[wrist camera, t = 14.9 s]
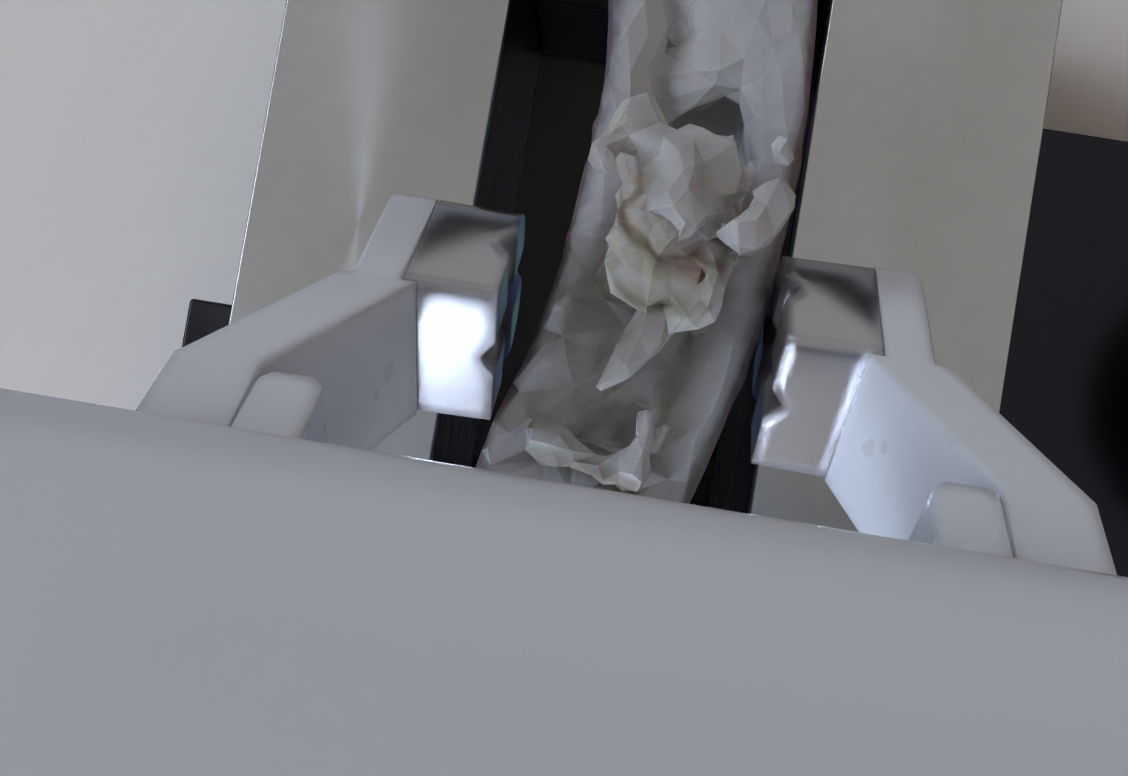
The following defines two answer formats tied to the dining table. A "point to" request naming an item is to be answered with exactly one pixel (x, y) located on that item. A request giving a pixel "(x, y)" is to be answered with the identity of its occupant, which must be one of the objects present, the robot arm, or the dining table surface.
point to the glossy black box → (579, 31)
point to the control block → (1076, 324)
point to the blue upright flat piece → (665, 248)
